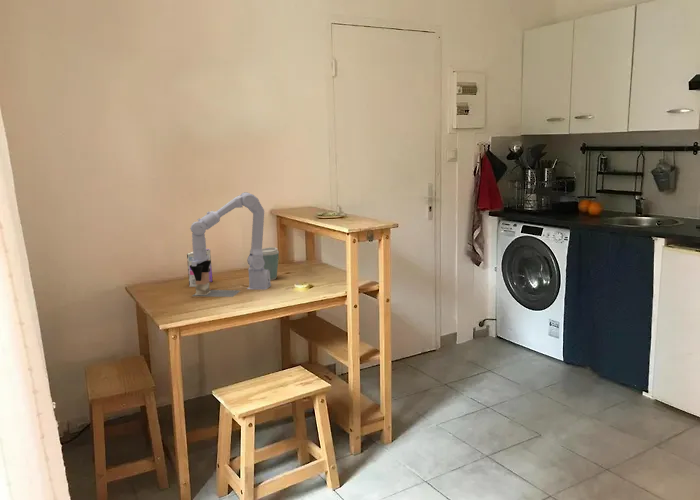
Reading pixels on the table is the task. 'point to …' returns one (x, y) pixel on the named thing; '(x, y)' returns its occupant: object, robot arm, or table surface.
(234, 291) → the board
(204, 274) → the block terracotta
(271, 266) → the disposable coffee cup
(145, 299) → the table surface
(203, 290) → the block cream
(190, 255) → the candy box
